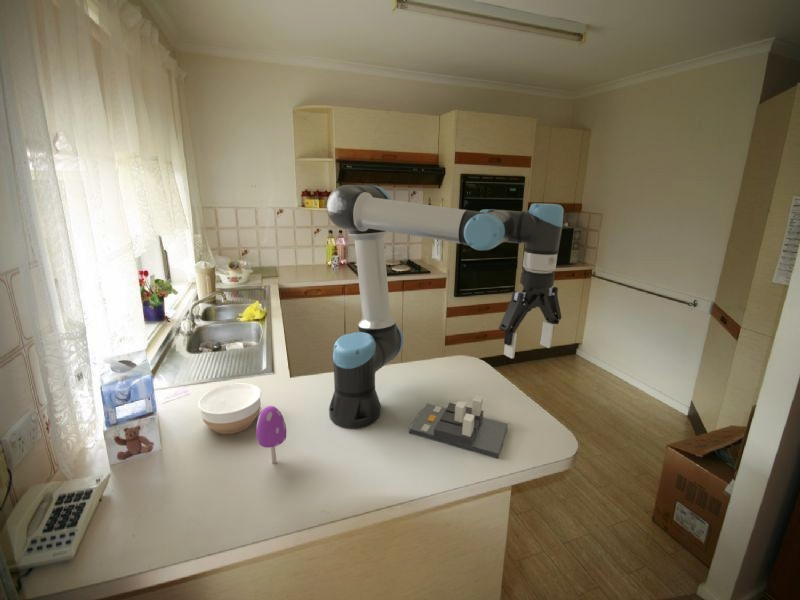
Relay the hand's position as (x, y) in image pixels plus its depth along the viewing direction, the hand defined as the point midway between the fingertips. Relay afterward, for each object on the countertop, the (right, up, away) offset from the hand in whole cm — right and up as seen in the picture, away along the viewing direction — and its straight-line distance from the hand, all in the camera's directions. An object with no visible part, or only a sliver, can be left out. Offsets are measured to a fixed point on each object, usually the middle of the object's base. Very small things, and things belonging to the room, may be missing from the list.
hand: (527, 351), depth 100 cm
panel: (-16, -23, +8) cm, 29 cm away
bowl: (-80, -21, +10) cm, 83 cm away
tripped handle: (-16, -20, +7) cm, 26 cm away
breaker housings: (-16, -22, +7) cm, 28 cm away
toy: (-63, -26, -6) cm, 69 cm away
